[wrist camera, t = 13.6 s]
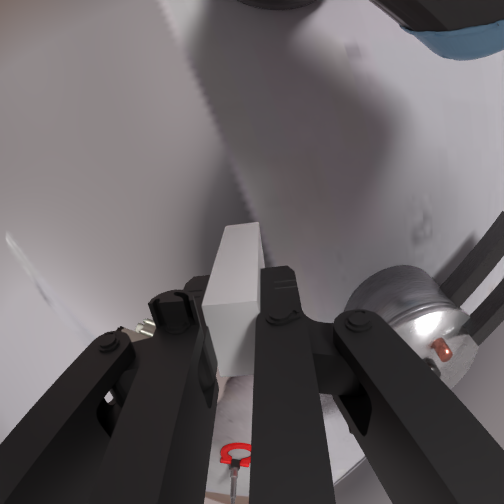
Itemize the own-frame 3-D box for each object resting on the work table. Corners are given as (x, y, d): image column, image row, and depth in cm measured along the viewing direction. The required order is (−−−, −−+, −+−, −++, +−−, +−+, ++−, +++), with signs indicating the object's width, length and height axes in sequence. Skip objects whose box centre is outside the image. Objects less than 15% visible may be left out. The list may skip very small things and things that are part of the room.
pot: (328, 214, 39) (350, 248, 29) (491, 200, 37) (537, 225, 27) (330, 369, 49) (342, 420, 39) (465, 340, 47) (492, 380, 37)
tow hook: (226, 438, 59) (216, 457, 62) (222, 488, 47) (211, 503, 50) (264, 444, 60) (251, 464, 63) (265, 494, 48) (251, 509, 51)
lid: (383, 430, 40) (389, 449, 37) (307, 392, 36) (311, 416, 33) (553, 269, 29) (569, 282, 25) (517, 183, 25) (539, 192, 21)
